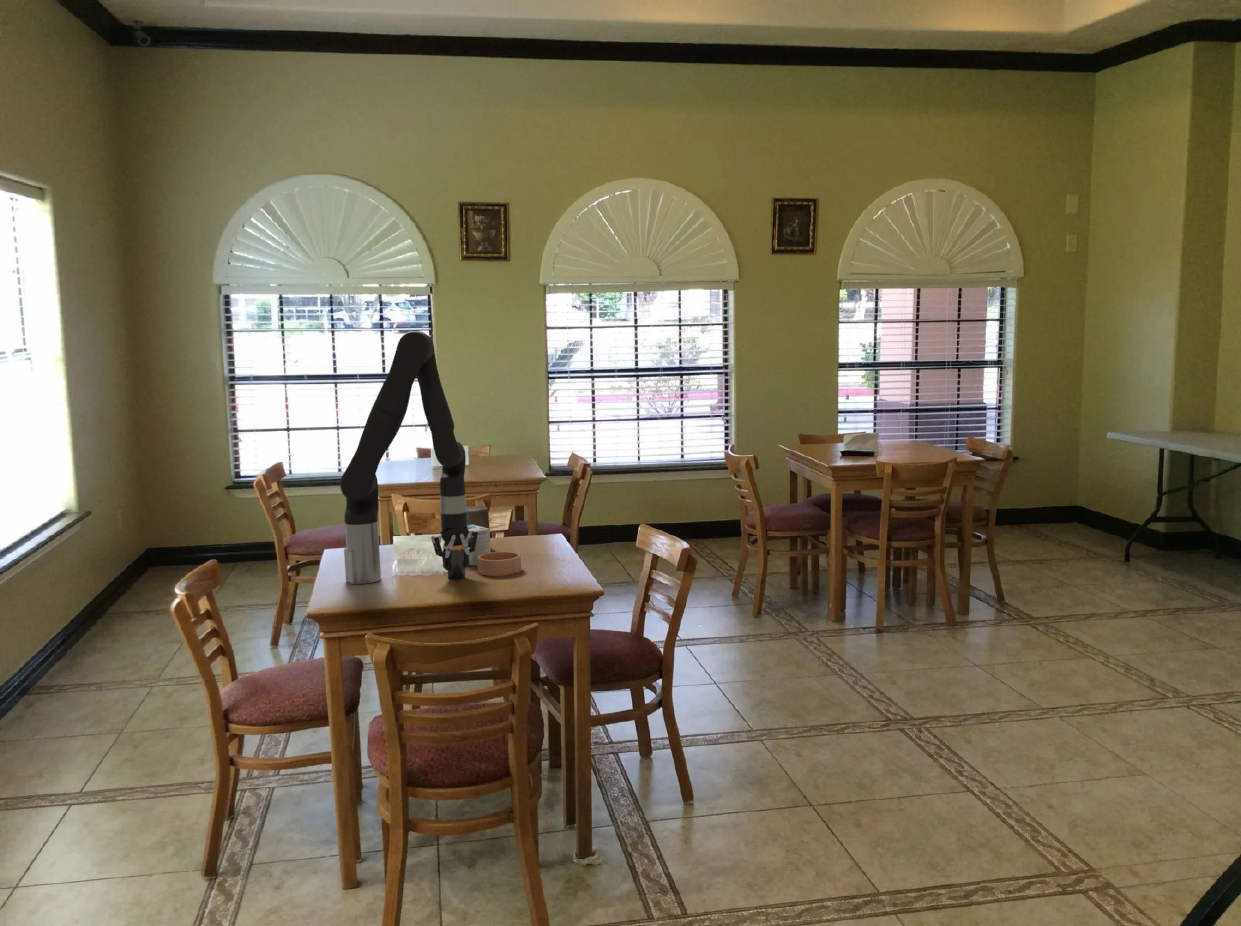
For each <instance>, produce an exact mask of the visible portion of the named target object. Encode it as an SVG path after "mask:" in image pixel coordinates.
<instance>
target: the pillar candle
mask: <svg viewBox="0 0 1241 926" xmlns="http://www.w3.org/2000/svg"><path fill="white" fill-rule="evenodd" d="M489 517H490V513H489V506H488V507H487V506H483V505H477V506H476V505H473V506H467V526H468V525H476V526H480V527H484V528H488V529H490V520H489V519H490V518H489Z"/></svg>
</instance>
